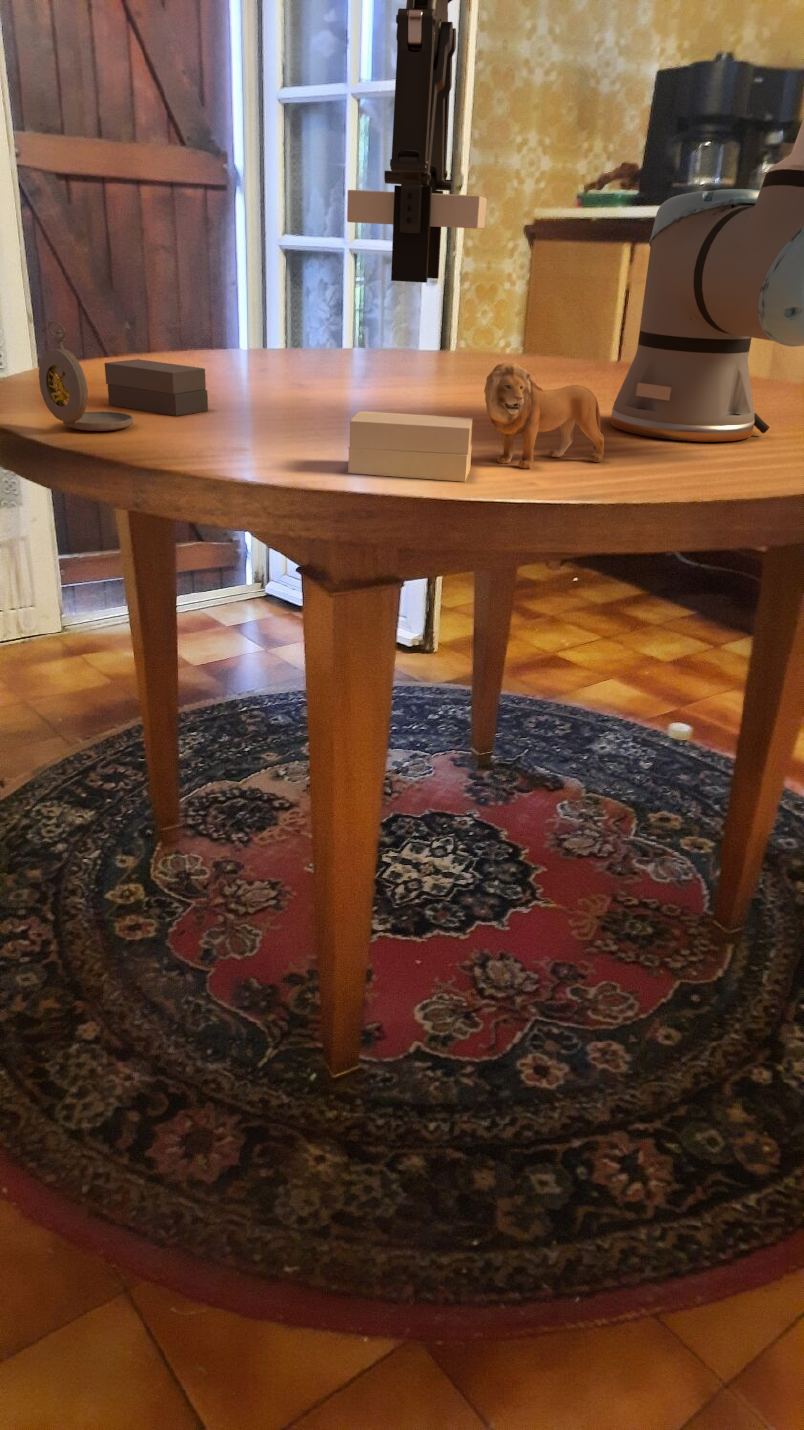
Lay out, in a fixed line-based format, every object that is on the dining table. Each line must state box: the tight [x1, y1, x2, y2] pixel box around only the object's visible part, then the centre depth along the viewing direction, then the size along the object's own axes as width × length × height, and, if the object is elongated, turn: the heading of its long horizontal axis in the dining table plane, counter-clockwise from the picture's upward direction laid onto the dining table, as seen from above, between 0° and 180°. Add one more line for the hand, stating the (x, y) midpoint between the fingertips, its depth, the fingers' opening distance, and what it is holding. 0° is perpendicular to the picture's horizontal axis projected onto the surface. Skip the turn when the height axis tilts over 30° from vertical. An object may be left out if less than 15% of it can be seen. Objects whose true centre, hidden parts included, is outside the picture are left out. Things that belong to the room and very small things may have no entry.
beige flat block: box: [346, 189, 488, 230], centre depth 79 cm, size 10×7×2 cm
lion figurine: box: [483, 361, 605, 470], centre depth 92 cm, size 15×5×9 cm, turn 127°
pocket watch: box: [38, 320, 134, 432], centre depth 97 cm, size 8×8×10 cm
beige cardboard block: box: [347, 410, 474, 483], centre depth 87 cm, size 10×5×4 cm, turn 82°
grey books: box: [104, 358, 209, 417], centre depth 111 cm, size 10×5×4 cm, turn 58°
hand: (415, 279), depth 82 cm, fingers closed on beige flat block, 7 cm apart
